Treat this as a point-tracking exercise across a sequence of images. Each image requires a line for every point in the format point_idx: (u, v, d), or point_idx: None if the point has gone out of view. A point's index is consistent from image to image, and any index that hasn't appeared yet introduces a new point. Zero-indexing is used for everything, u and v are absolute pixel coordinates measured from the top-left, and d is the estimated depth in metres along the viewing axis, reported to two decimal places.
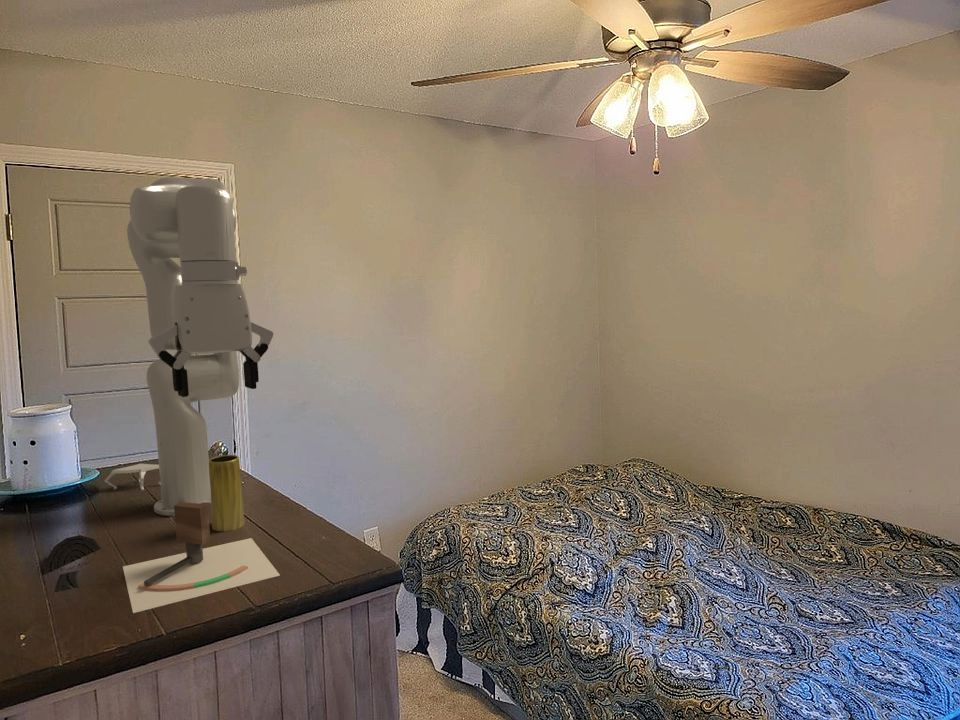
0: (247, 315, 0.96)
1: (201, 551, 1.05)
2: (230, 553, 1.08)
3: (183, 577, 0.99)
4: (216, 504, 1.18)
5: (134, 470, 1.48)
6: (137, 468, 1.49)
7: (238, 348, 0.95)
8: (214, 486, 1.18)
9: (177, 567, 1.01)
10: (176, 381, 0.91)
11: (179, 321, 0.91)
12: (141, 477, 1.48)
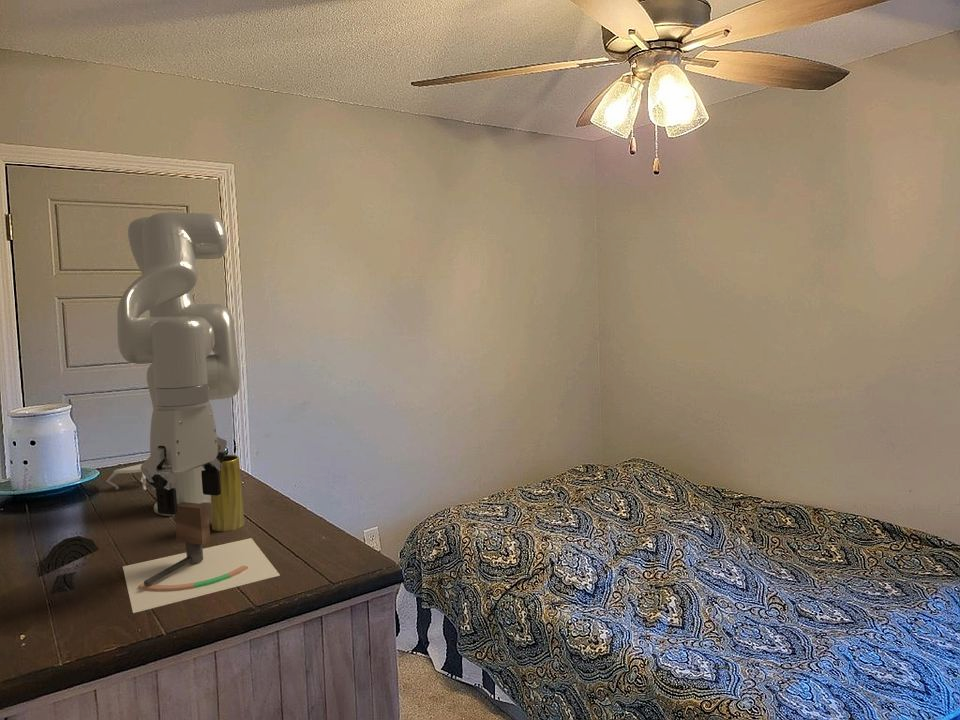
0: (215, 429, 1.06)
1: (201, 551, 1.05)
2: (230, 553, 1.08)
3: (183, 577, 0.99)
4: (216, 504, 1.18)
5: (136, 470, 1.48)
6: (139, 468, 1.49)
7: (210, 460, 1.05)
8: None
9: (177, 567, 1.01)
10: (166, 501, 0.97)
11: (168, 445, 0.97)
12: (143, 477, 1.48)
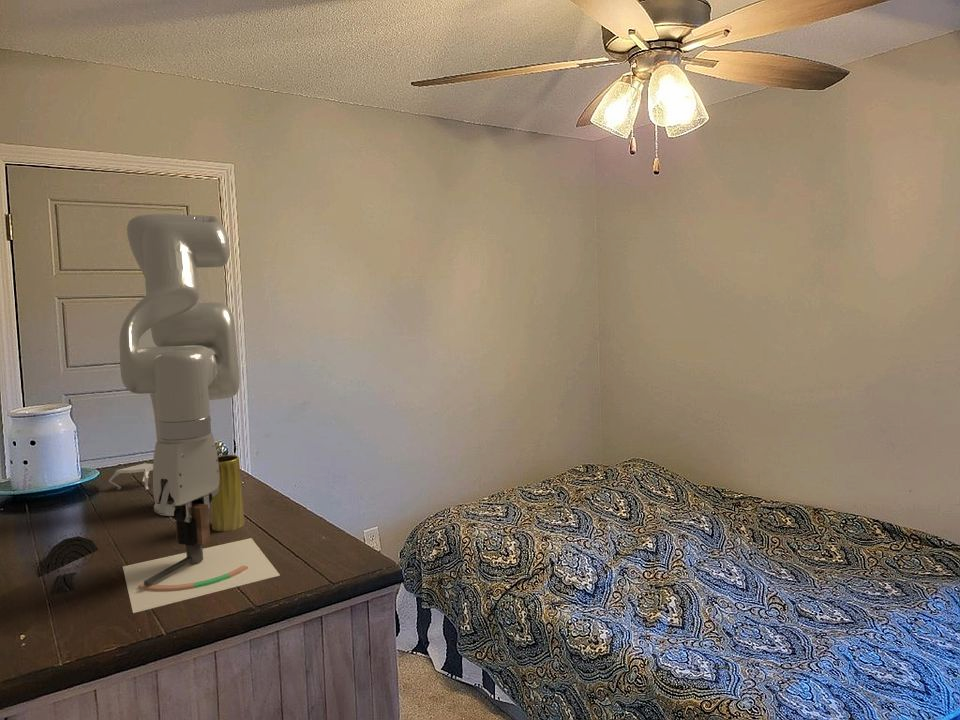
0: (217, 459, 1.07)
1: (201, 551, 1.05)
2: (230, 553, 1.08)
3: (183, 577, 0.99)
4: (216, 504, 1.18)
5: (138, 470, 1.48)
6: (141, 468, 1.49)
7: (212, 490, 1.06)
8: None
9: (177, 567, 1.01)
10: (186, 533, 1.02)
11: (171, 478, 0.98)
12: (145, 476, 1.48)
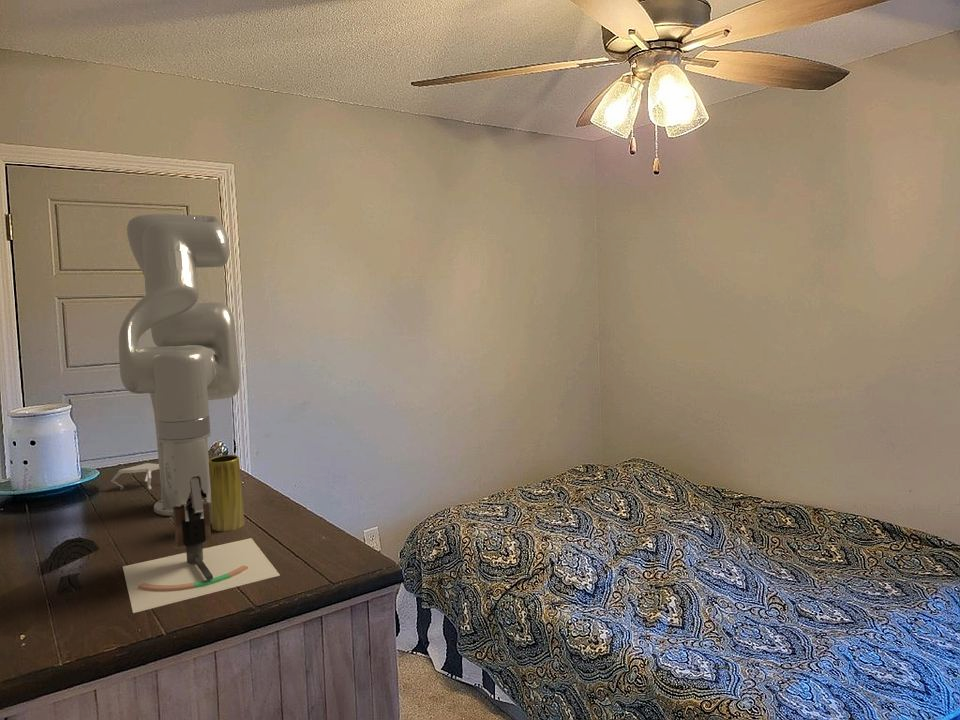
0: None
1: (201, 549, 1.06)
2: (230, 553, 1.08)
3: (183, 577, 0.99)
4: (216, 504, 1.18)
5: (141, 469, 1.49)
6: (144, 467, 1.49)
7: None
8: (214, 486, 1.18)
9: (203, 564, 1.02)
10: (200, 530, 1.03)
11: (203, 474, 1.00)
12: (148, 476, 1.48)
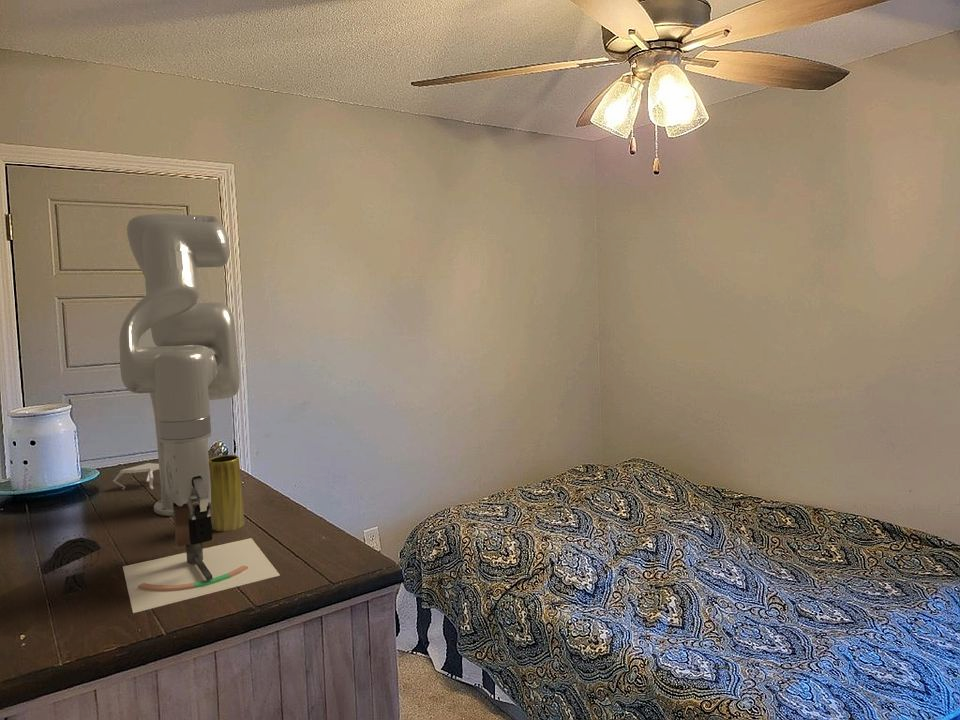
0: None
1: (201, 549, 1.06)
2: (230, 553, 1.08)
3: (183, 577, 0.99)
4: (216, 504, 1.18)
5: (143, 469, 1.49)
6: (146, 467, 1.50)
7: None
8: (214, 486, 1.18)
9: None
10: (206, 528, 1.00)
11: (204, 474, 1.00)
12: (150, 476, 1.48)
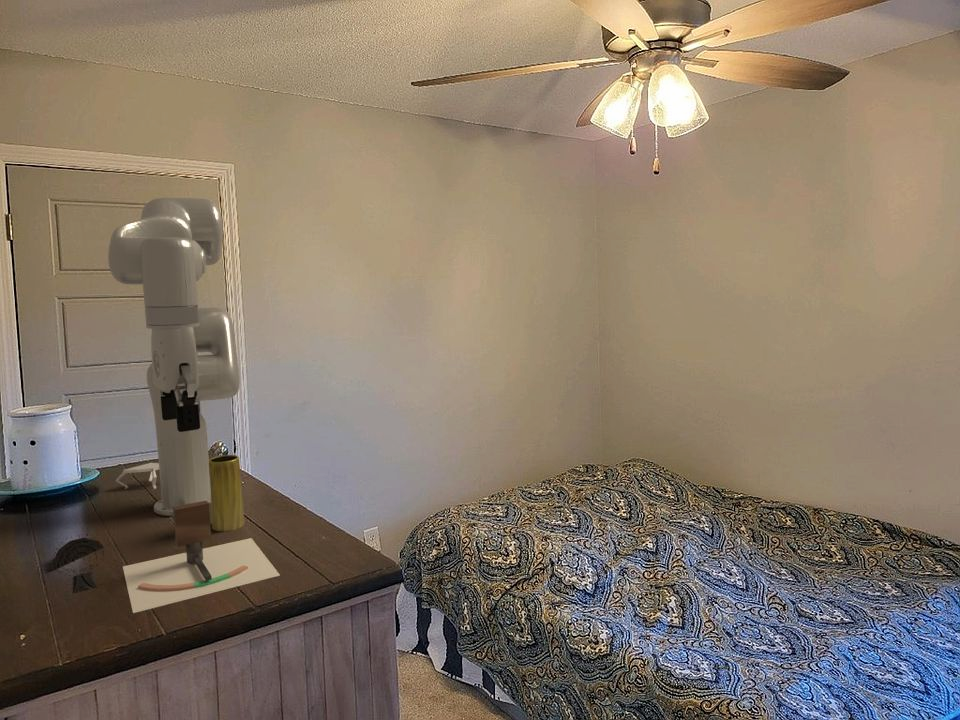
0: None
1: (201, 549, 1.06)
2: (230, 553, 1.08)
3: (183, 577, 0.99)
4: (216, 504, 1.18)
5: (146, 469, 1.49)
6: (149, 467, 1.50)
7: None
8: (214, 486, 1.18)
9: None
10: (194, 416, 1.00)
11: (192, 361, 0.99)
12: (154, 476, 1.49)
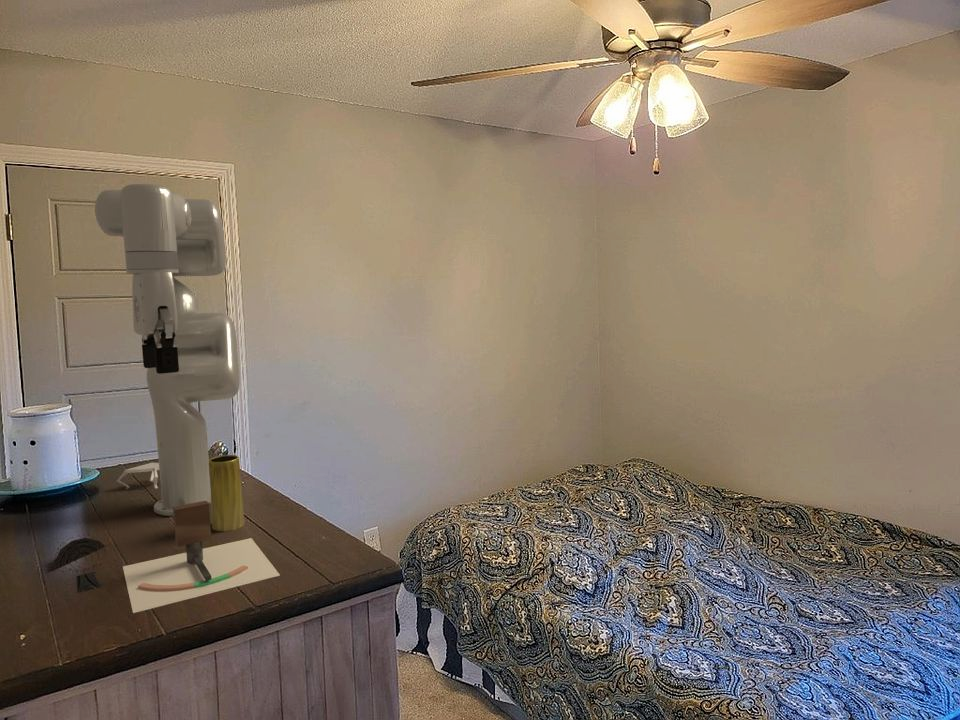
0: None
1: (201, 549, 1.06)
2: (230, 553, 1.08)
3: (183, 577, 0.99)
4: (216, 504, 1.18)
5: (148, 469, 1.49)
6: (150, 467, 1.50)
7: None
8: (214, 486, 1.18)
9: None
10: (173, 358, 1.02)
11: (171, 305, 1.02)
12: (155, 475, 1.49)
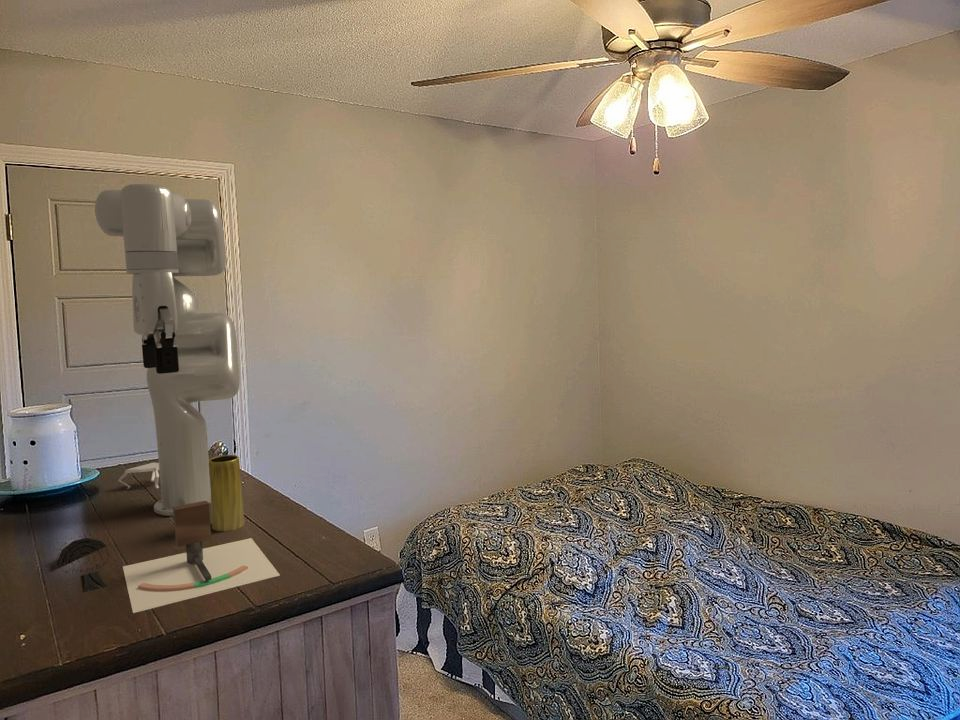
0: None
1: (201, 549, 1.06)
2: (230, 553, 1.08)
3: (183, 577, 0.99)
4: (216, 504, 1.18)
5: (149, 469, 1.49)
6: (151, 467, 1.50)
7: None
8: (214, 486, 1.18)
9: None
10: (173, 358, 1.02)
11: (171, 305, 1.02)
12: (156, 475, 1.49)
